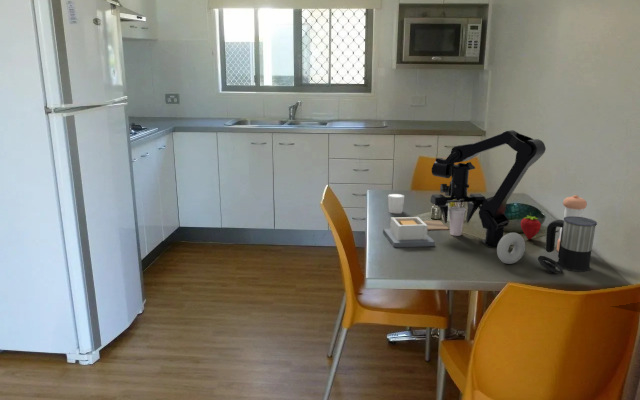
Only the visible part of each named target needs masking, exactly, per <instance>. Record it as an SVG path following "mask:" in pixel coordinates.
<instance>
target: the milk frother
mask: <svg viewBox="0 0 640 400" xmlns="http://www.w3.org/2000/svg"><path fill="white" fill-rule="evenodd" d="M563 219H564V220H563ZM563 219H556V220H552V221H551V222H549V224H548V225H547V228H546V235H545V237H546V238H545V251H546V252H547V253H552V252H554V251H555V245H556V234H557V233H556V232H557V228H561V227H562V233H561V240H560V247H559V251H558V254H557V258H558V261H556V260H554V259H552V258H550V257H548V256H545V255H539V256H538V257H537V260H538V262H539V264H540V265H541V266H542V268H544V269H545V270H548V271H549V273H556V274H559V273H562V272H563V269H565V270H569V271H573V272H587V271H589V270H591V265H590V264H591V256H592V252H593V251H592V250H593V245H594V237H595V232H596V227H597V225H598V222H597V221H596V220H594V219H592V218H587V217H583V216H582V217H575V216H567V217H564V216H563Z"/></svg>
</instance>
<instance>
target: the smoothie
mask: <svg viewBox="0 0 640 400" xmlns="http://www.w3.org/2000/svg"><path fill="white" fill-rule="evenodd" d="M457 203H458V205H456V206H453V205H452V206H448V217H449V235H452V236H455V237H456V236H457V237H458V236H459V237H460V236H461V235H462V232H463V231H462V230H463V226H464V221H465V218H466V217H465V215H466V214H467V208H466V207H464V206H461V202H460V201H459V202H457Z"/></svg>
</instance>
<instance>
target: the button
mask: <svg viewBox="0 0 640 400" xmlns="http://www.w3.org/2000/svg"><path fill="white" fill-rule="evenodd" d="M400 225H418V224H417V223H416V222H415V221H400Z"/></svg>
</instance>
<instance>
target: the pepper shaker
mask: <svg viewBox="0 0 640 400" xmlns="http://www.w3.org/2000/svg"><path fill="white" fill-rule="evenodd" d="M562 205H563V207H564V213H563V214H564V215H563V219H562V220H564V217H567V216H575V217H583V214H584V209H586V208H587V206H588V203H587V200H586V199H585V198H583V197H580V196H579V195H577V194H574V195H572V196H567V197H565V198H564V199H563V202H562ZM561 233H562V227H560V230H559V237H558V239H557V244H556V251H557V252H559V247H560V240H561Z"/></svg>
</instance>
